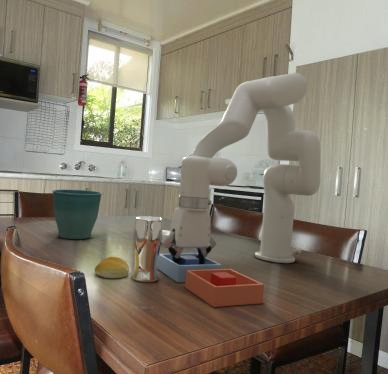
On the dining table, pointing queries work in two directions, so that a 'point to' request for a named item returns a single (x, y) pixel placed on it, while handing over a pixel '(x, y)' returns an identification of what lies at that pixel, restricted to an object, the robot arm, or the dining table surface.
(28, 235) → the dining table surface
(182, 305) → the dining table surface
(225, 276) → the red block
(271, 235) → the robot arm
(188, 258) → the blue block
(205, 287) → the terracotta bin
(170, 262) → the blue bin
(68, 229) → the flower pot
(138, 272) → the beer glass
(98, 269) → the bread roll
